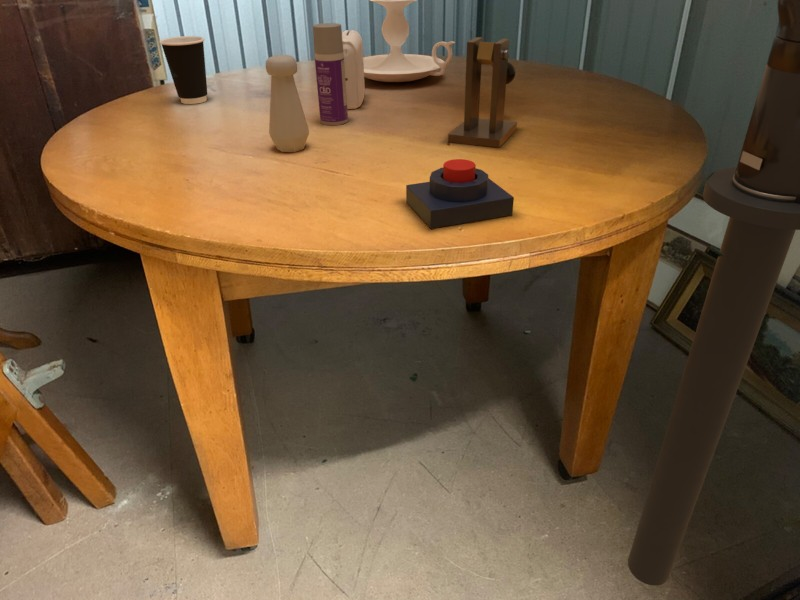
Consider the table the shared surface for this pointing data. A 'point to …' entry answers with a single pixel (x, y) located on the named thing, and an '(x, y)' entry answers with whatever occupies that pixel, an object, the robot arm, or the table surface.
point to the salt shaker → (285, 106)
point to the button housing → (458, 200)
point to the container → (330, 73)
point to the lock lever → (486, 58)
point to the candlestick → (396, 62)
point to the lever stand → (474, 127)
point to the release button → (459, 171)
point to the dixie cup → (187, 67)
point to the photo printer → (353, 68)
